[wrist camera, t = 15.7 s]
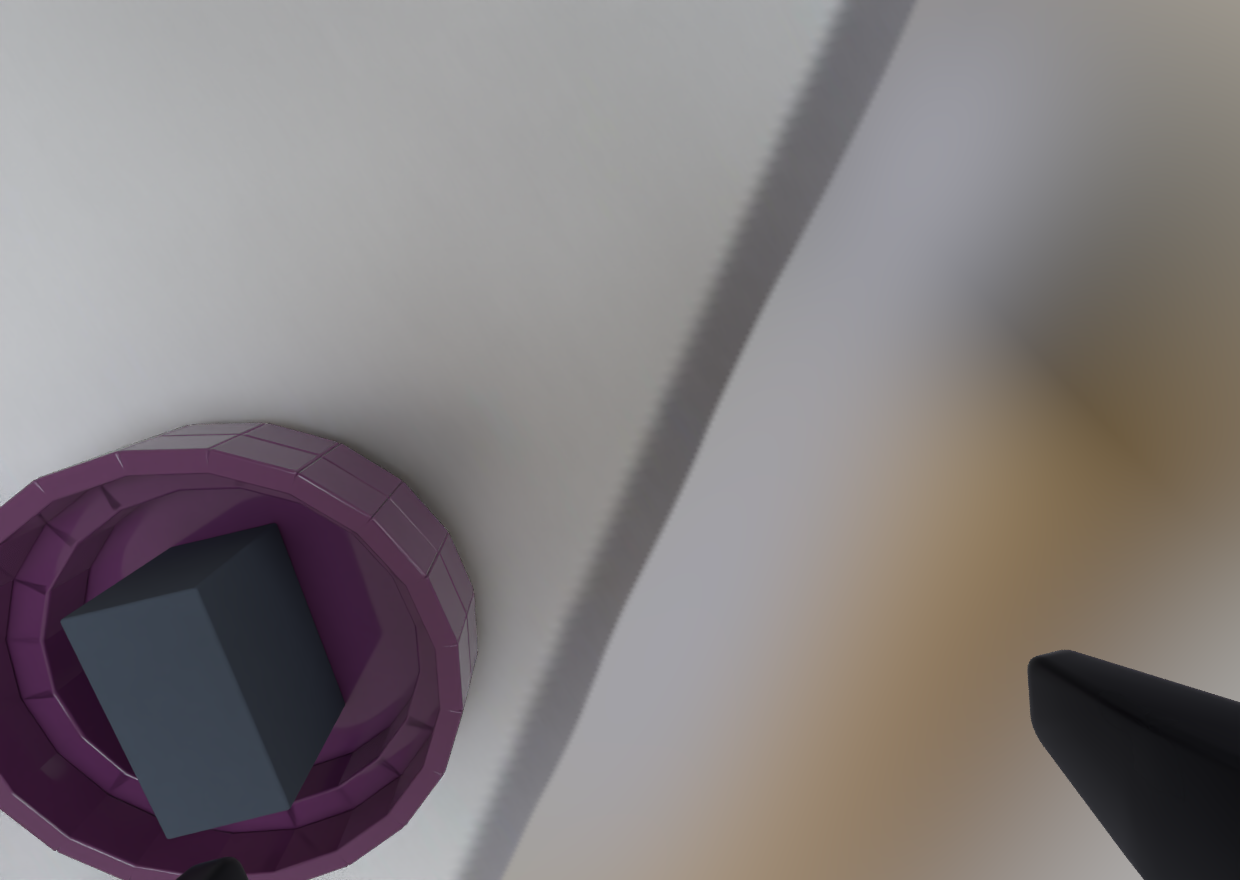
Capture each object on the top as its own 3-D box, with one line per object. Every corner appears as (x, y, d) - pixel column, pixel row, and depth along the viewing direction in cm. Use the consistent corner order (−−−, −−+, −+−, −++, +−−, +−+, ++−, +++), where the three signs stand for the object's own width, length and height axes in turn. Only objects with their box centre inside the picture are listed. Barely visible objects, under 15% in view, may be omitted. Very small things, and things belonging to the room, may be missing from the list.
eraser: (169, 546, 18) (57, 620, 14) (277, 521, 18) (195, 587, 14) (247, 728, 19) (166, 841, 15) (346, 704, 19) (290, 811, 15)
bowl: (77, 362, 17) (-47, 382, 13) (526, 485, 19) (517, 529, 15) (24, 749, 19) (-92, 847, 16) (426, 825, 21) (398, 928, 18)
